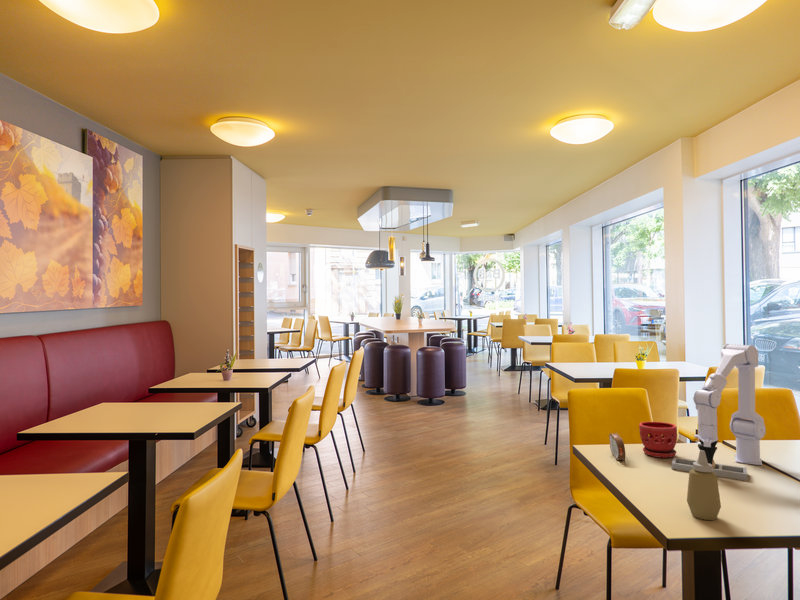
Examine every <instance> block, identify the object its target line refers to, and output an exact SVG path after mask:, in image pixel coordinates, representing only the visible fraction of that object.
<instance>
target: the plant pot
mask: <svg viewBox="0 0 800 600" xmlns="http://www.w3.org/2000/svg"><path fill="white" fill-rule="evenodd" d="M638 426H639V429H638V430H639V436H640V440H641V443H642V445H643V448H642V451H643V452H644V454H646V455H648V456H649V455H650V456H649V457H654V458H655V457H656V458H661V457H662V459H663V458H664V459H665V458H668V457H669V458H672V457H673V458H674V456H676V454H677V450H675V448H676V445H677V440H678V427H677V426H676V424H673V423H671V422H670V423H669V422H665V421H664V422H662V421H643V422H639V425H638Z"/></svg>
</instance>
